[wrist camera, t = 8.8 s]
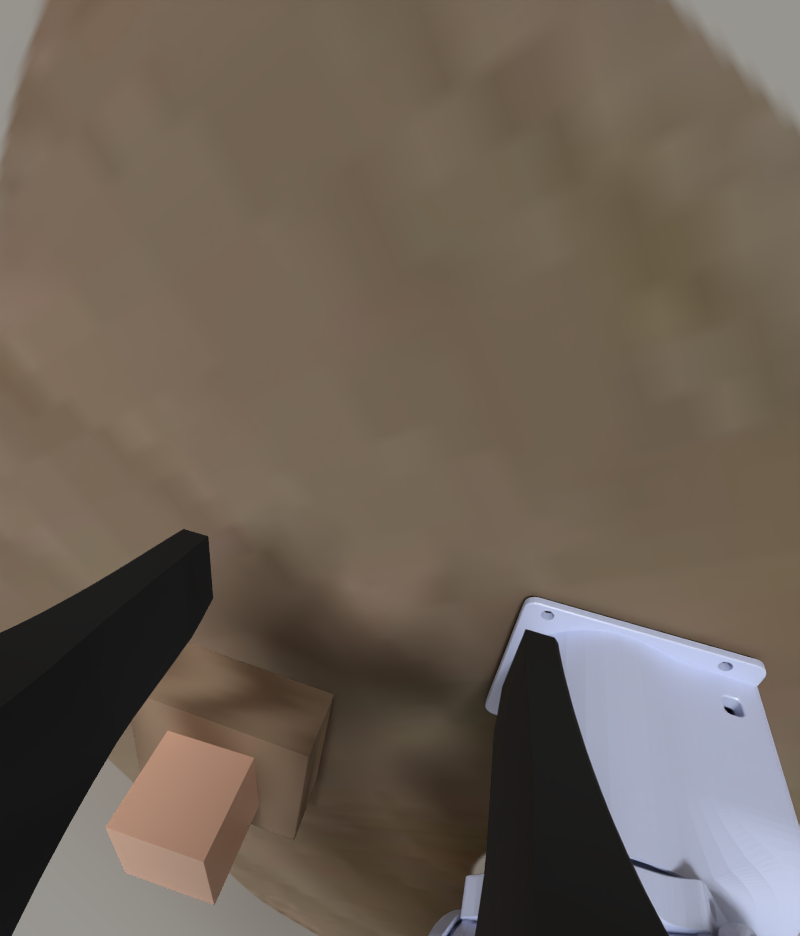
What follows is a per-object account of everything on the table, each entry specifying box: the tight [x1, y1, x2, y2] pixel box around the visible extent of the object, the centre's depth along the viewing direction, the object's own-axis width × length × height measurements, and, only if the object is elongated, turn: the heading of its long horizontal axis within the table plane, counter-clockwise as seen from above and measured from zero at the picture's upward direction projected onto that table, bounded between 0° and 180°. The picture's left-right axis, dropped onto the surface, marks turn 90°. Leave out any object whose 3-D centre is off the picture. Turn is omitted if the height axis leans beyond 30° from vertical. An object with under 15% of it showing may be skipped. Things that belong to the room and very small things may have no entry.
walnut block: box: [131, 643, 334, 840], centre depth 33 cm, size 10×10×4 cm
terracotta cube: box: [106, 731, 259, 905], centre depth 30 cm, size 5×5×5 cm
